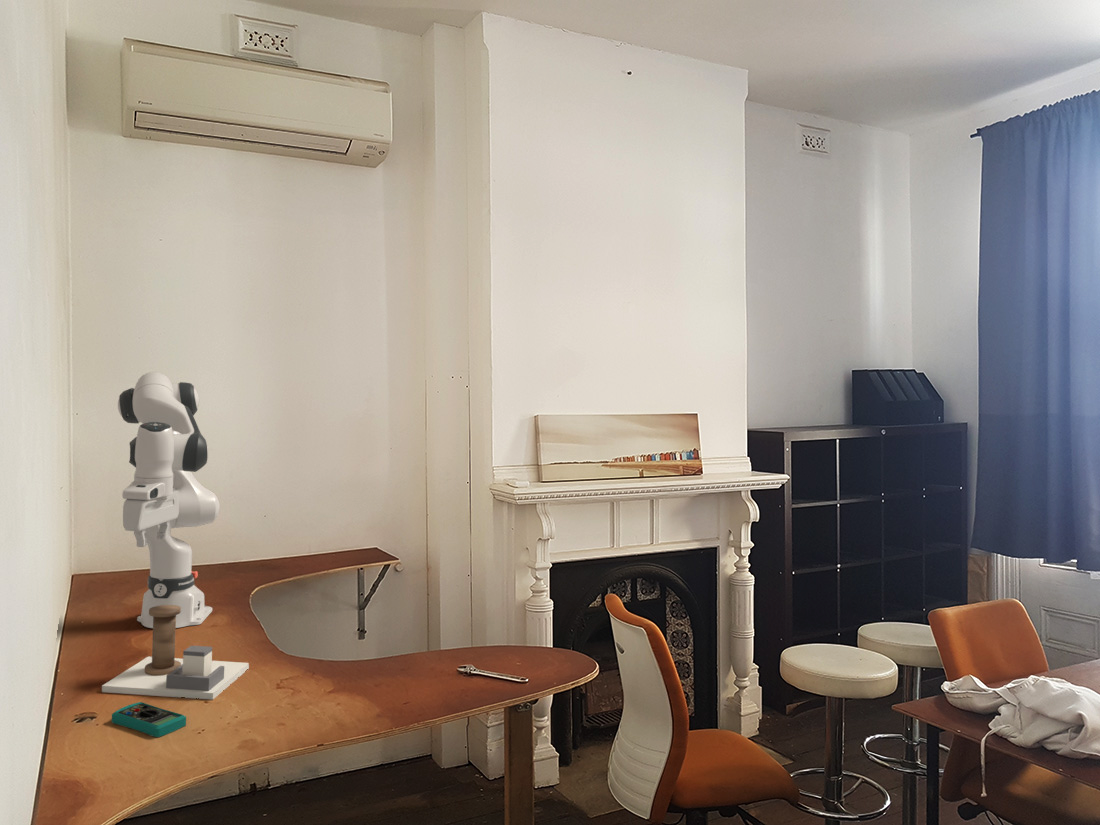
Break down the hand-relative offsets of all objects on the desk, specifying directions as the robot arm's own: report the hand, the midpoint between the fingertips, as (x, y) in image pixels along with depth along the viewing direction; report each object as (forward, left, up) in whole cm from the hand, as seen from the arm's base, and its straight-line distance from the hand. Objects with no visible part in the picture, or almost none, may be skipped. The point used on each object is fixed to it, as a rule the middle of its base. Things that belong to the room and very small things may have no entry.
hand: (151, 542), depth 204 cm
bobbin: (+6, +7, -30) cm, 31 cm away
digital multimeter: (+32, +18, -32) cm, 49 cm away
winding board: (+8, +12, -31) cm, 34 cm away
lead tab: (+12, +18, -30) cm, 37 cm away
